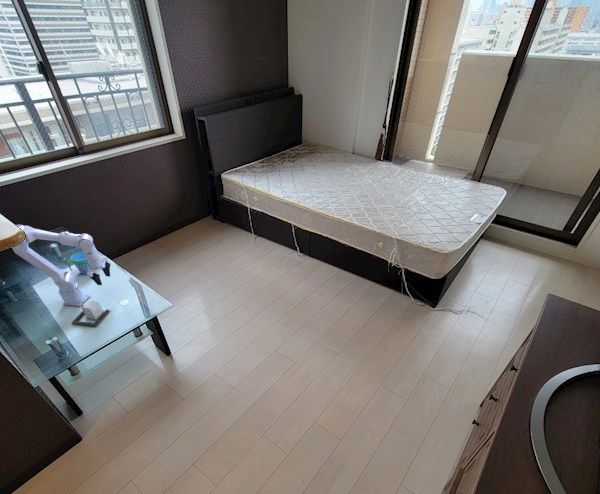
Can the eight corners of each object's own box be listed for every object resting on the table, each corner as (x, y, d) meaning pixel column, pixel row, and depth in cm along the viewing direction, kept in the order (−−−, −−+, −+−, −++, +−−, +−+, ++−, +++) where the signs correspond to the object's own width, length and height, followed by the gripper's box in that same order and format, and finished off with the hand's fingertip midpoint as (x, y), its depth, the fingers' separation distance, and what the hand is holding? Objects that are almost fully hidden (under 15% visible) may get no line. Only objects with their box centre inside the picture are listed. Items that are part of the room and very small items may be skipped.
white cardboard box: (104, 312, 174) (99, 301, 169) (96, 320, 169) (90, 309, 164) (95, 310, 175) (89, 299, 170) (86, 317, 171) (79, 306, 166)
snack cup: (100, 262, 207) (93, 248, 200) (103, 271, 201) (96, 256, 194) (71, 270, 201) (63, 255, 194) (74, 279, 194) (66, 264, 187)
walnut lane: (72, 324, 167) (71, 322, 166) (87, 308, 176) (86, 307, 175) (95, 327, 166) (94, 325, 165) (109, 311, 174) (108, 309, 173)
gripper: (91, 267, 163) (103, 289, 172) (109, 251, 174) (118, 273, 183) (78, 265, 164) (90, 288, 173) (96, 250, 174) (106, 271, 184)
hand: (104, 280), depth 178 cm, fingers open, 7 cm apart
